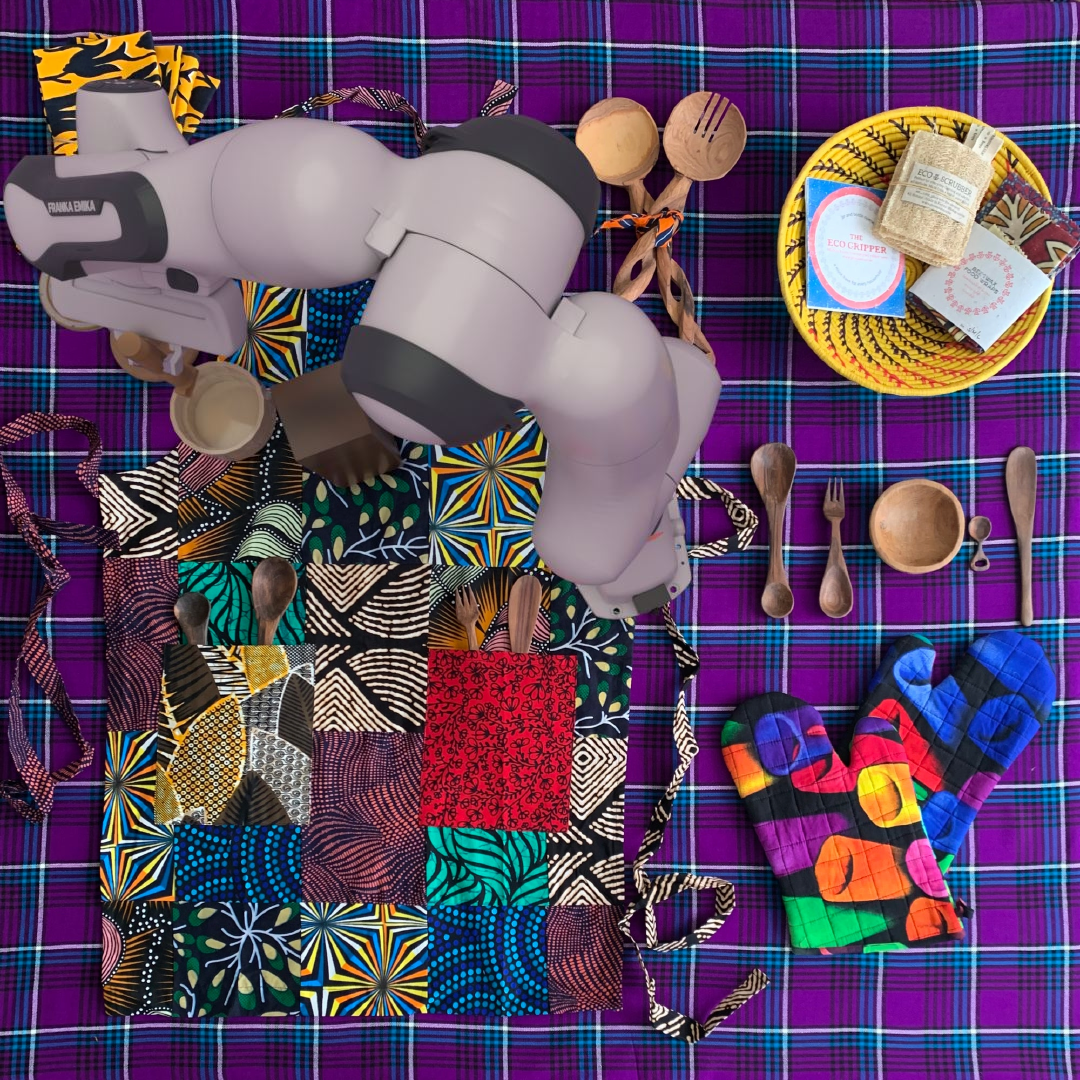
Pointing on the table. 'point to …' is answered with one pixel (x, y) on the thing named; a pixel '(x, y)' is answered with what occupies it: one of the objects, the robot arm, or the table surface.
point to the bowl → (224, 413)
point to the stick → (156, 362)
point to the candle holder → (84, 327)
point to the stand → (333, 429)
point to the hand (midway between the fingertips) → (156, 368)
